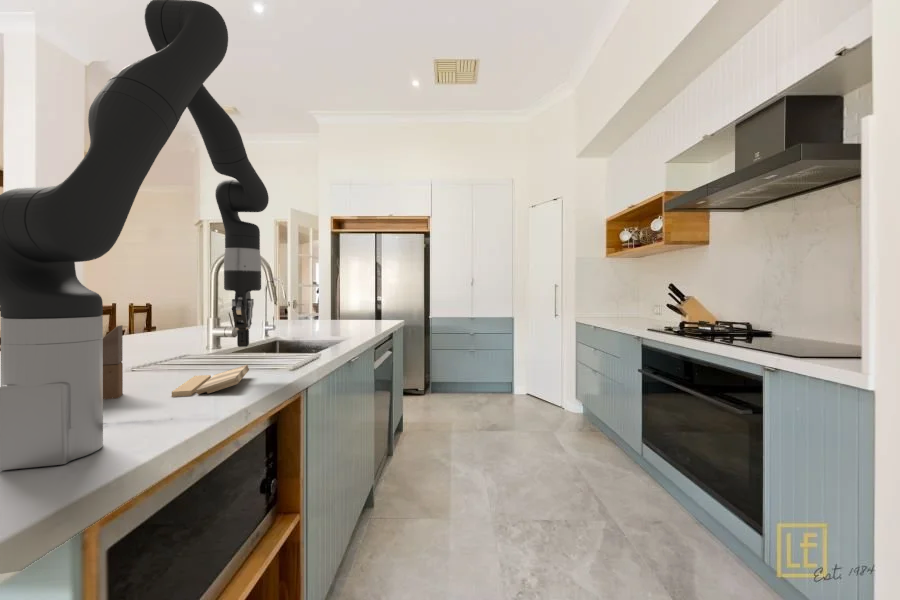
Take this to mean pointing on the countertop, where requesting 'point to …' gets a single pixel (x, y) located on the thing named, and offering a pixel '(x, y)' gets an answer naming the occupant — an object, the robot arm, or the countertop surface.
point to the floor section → (190, 386)
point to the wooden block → (112, 364)
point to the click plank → (223, 380)
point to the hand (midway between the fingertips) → (243, 346)
